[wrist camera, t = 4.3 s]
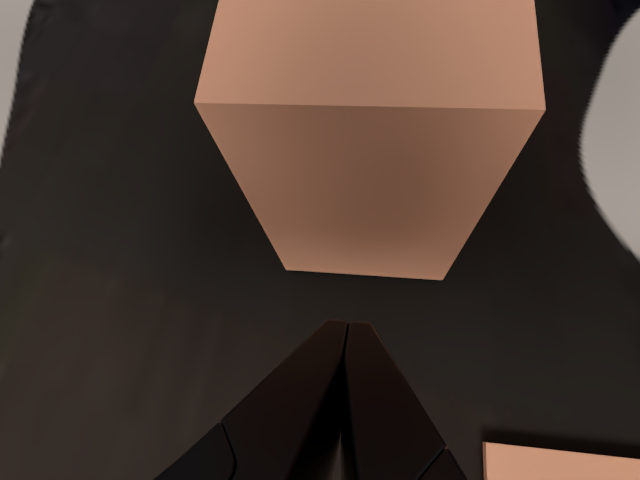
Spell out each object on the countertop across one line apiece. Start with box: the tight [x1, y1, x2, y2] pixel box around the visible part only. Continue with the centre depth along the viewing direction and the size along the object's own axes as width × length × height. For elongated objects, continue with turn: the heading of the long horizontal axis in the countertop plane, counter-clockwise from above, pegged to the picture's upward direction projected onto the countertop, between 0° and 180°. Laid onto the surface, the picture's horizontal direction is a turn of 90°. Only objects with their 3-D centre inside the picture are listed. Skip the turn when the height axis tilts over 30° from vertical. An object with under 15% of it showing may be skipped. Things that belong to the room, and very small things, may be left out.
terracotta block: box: [194, 0, 546, 280], centre depth 13 cm, size 6×6×10 cm
